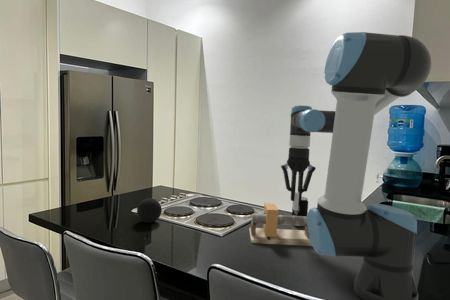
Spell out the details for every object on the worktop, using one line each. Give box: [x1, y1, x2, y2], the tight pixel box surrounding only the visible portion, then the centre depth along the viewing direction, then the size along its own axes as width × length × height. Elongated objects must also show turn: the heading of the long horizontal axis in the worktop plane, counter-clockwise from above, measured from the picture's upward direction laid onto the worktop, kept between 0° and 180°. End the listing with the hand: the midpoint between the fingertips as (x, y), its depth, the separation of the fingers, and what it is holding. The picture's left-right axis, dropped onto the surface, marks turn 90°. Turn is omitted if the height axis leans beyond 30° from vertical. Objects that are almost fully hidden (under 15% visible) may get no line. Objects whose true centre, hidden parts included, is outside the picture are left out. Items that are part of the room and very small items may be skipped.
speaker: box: [136, 197, 163, 224], centre depth 137 cm, size 10×10×10 cm
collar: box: [262, 202, 279, 237], centre depth 126 cm, size 4×10×10 cm, turn 179°
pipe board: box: [248, 213, 313, 247], centre depth 126 cm, size 23×14×9 cm, turn 89°
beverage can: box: [291, 196, 309, 228], centre depth 144 cm, size 7×7×12 cm
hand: (295, 209), depth 125 cm, fingers closed
